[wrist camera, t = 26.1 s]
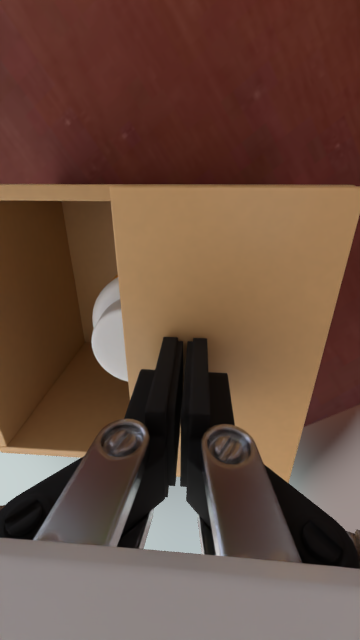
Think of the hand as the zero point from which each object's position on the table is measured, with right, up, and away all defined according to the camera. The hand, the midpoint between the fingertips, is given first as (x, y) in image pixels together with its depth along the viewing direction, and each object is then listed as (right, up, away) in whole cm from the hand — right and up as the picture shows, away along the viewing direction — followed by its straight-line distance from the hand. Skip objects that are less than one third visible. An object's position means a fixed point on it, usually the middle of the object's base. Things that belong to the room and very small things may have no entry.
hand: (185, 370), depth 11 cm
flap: (+1, 0, 0) cm, 1 cm away
